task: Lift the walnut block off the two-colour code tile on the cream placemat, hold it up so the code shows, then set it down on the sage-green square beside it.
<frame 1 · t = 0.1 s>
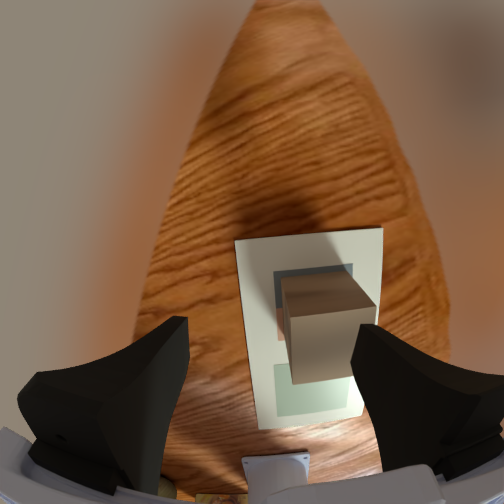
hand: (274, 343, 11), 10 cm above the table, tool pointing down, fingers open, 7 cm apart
walnut block: (314, 304, 22), resting on placemat
fennel bulb: (159, 476, 30), on the table
candy box: (226, 496, 32), on the table
placemat: (314, 349, 23), on the table
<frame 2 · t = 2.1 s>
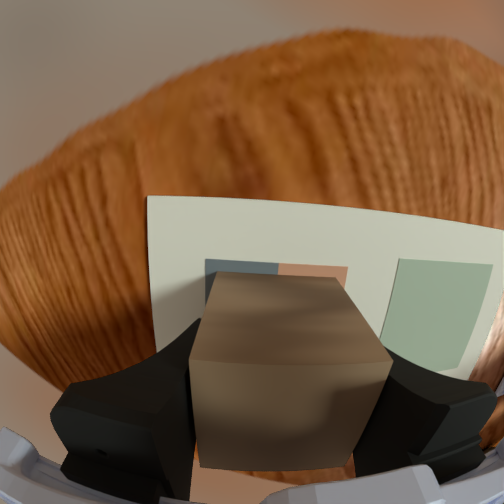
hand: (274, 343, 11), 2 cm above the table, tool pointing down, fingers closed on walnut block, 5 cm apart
walnut block: (272, 326, 13), resting on placemat, touching gripper
placemat: (363, 325, 13), on the table
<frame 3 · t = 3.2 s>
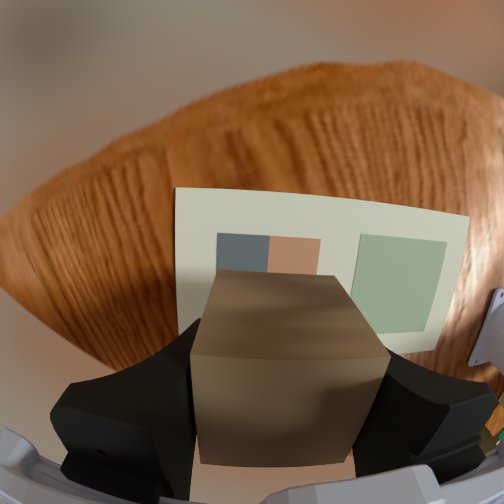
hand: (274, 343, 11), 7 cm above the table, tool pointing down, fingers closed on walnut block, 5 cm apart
walnut block: (272, 324, 13), point 5 cm above the table, touching gripper
fennel bulb: (461, 431, 24), on the table
placemat: (336, 286, 18), on the table
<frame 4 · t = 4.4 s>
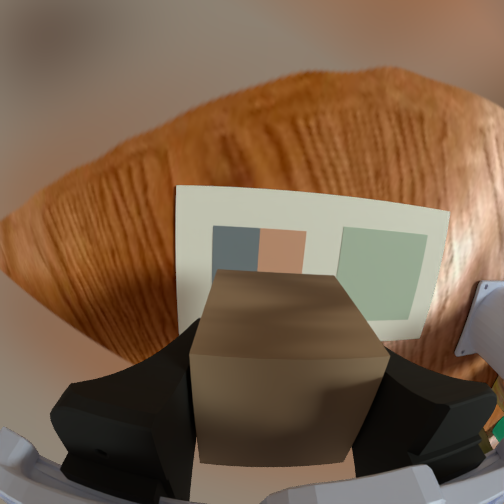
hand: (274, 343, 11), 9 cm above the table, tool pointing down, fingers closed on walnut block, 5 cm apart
walnut block: (271, 324, 13), point 7 cm above the table, touching gripper
candle: (503, 420, 28), on the table
placemat: (322, 274, 20), on the table
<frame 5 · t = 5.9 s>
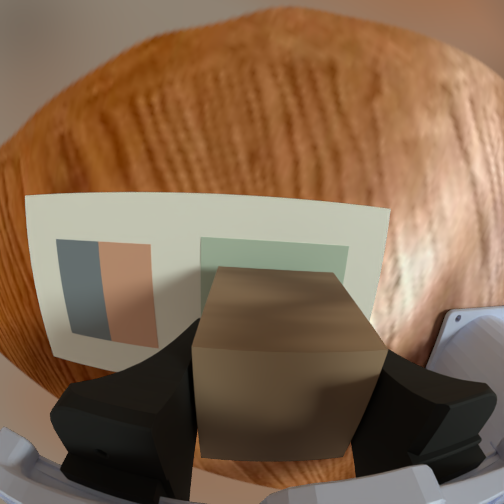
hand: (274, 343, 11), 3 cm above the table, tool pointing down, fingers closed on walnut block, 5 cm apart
walnut block: (271, 320, 13), point 2 cm above the table, touching gripper
placemat: (182, 301, 14), on the table
when the fingers open (3 cm above the table, at t = 6.8 s): walnut block drops 1 cm, resting on placemat.
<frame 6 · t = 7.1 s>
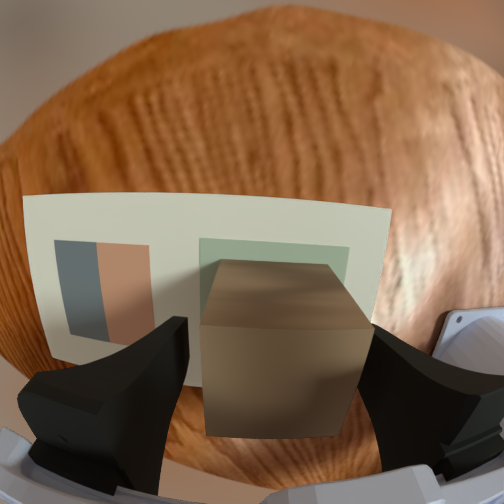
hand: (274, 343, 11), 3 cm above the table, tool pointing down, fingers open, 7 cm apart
walnut block: (271, 309, 14), resting on placemat
placemat: (181, 303, 14), on the table
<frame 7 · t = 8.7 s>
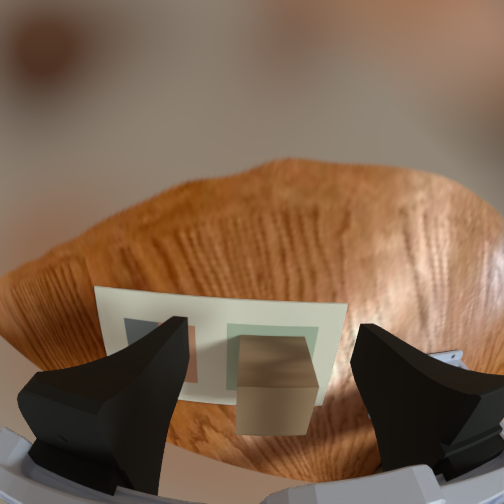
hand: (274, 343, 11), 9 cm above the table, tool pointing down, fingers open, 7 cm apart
walnut block: (270, 361, 22), resting on placemat
placemat: (214, 357, 23), on the table
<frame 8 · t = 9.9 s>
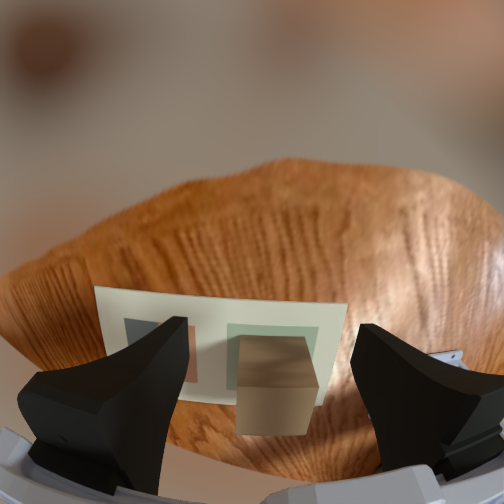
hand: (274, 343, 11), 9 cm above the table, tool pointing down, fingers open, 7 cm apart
walnut block: (270, 361, 22), resting on placemat
placemat: (214, 357, 23), on the table
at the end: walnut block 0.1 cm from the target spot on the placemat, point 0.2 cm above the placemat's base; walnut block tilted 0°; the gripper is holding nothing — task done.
